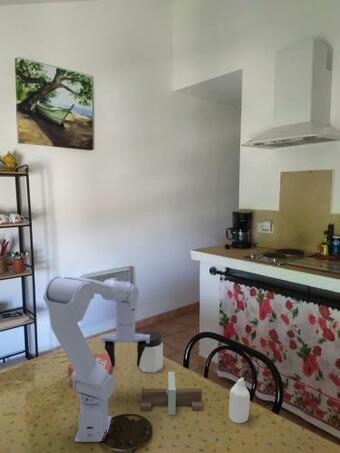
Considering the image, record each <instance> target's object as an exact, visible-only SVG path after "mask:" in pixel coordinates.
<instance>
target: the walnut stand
mask: <svg viewBox="0 0 340 453" xmlns="http://www.w3.org/2000/svg"><path fill="white" fill-rule="evenodd" d="M140 392H141V394H140V396H141V397H140V398H141V399H140V401H141V402H140V411H141V412H151V411H152V407H168V388H141V390H140ZM202 398H203V391H202V388H176V407H188V406H189V407H191V410H192V411H194V412H195V411H203V406H204V405H203V402H202V401H203V400H202Z"/></svg>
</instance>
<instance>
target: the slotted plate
mask: <svg viewBox="0 0 340 453" xmlns="http://www.w3.org/2000/svg"><path fill="white" fill-rule="evenodd" d="M175 373H176V372H175V371H168V372H167V393H168V406H167V409H168V410H167V412H168V413H167V414H168V416H176V412H177V411H176V407H177V406H176V389H177V388H176V377H175V376H176V374H175Z"/></svg>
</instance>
